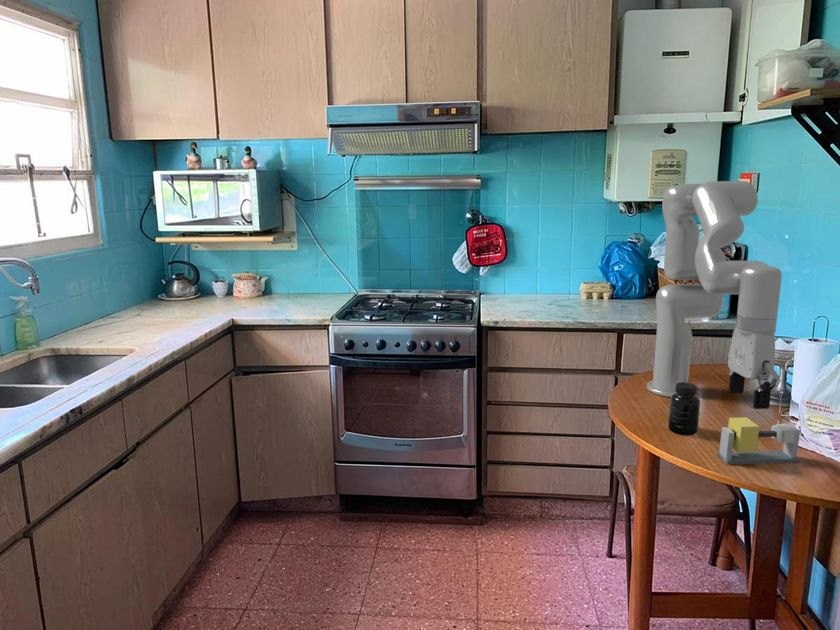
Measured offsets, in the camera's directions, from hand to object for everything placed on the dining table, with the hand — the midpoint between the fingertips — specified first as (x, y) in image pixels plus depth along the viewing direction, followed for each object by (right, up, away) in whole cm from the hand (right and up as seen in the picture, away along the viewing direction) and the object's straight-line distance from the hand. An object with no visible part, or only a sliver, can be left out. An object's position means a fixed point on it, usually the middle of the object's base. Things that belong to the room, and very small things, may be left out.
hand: (747, 400), depth 134 cm
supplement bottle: (-6, -10, +19) cm, 23 cm away
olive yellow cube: (0, -11, +3) cm, 11 cm away
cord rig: (+4, -14, +4) cm, 15 cm away
